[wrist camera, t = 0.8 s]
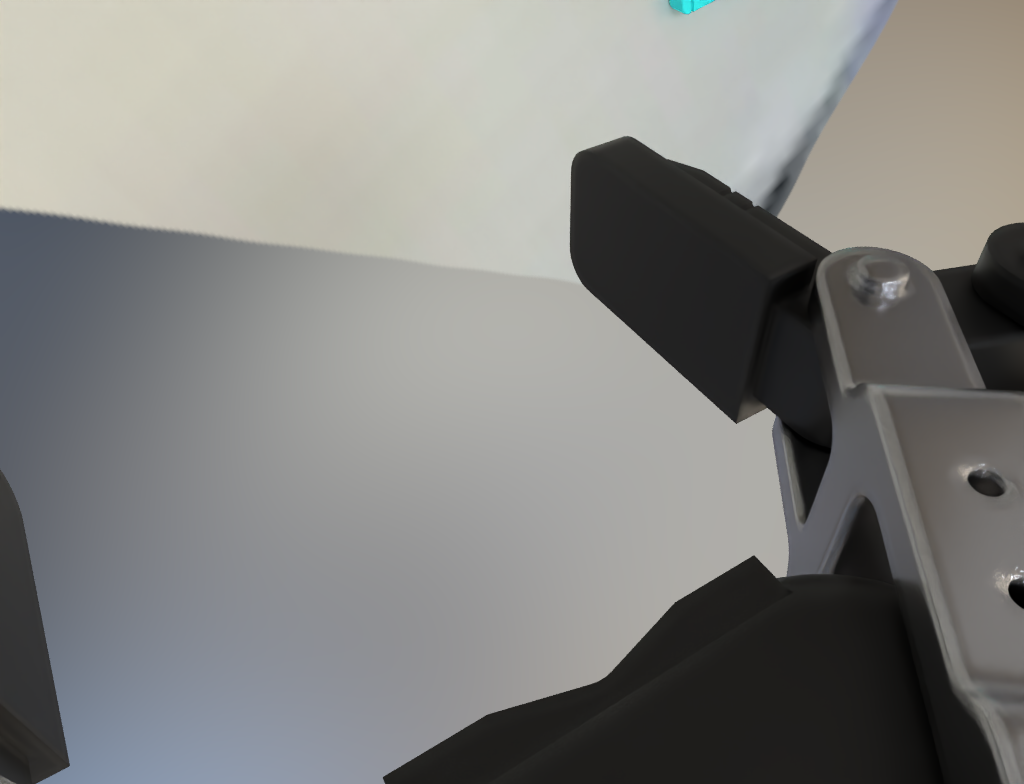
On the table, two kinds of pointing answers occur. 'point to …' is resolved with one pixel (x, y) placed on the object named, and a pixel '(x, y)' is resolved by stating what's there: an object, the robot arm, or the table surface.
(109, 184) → the table surface
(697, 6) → the handheld game console
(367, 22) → the table surface
